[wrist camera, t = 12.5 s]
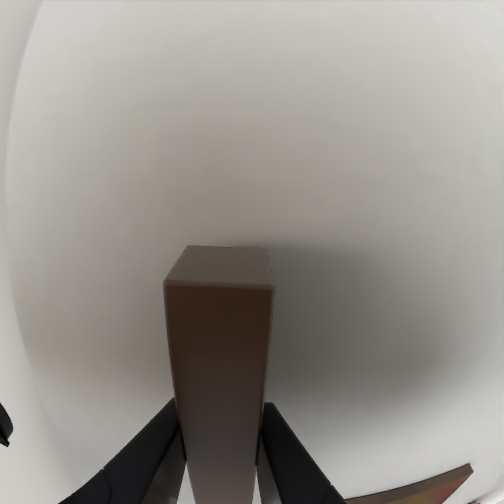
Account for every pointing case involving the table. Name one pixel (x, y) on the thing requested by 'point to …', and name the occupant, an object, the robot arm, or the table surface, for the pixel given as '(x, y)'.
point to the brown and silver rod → (220, 364)
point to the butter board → (421, 490)
